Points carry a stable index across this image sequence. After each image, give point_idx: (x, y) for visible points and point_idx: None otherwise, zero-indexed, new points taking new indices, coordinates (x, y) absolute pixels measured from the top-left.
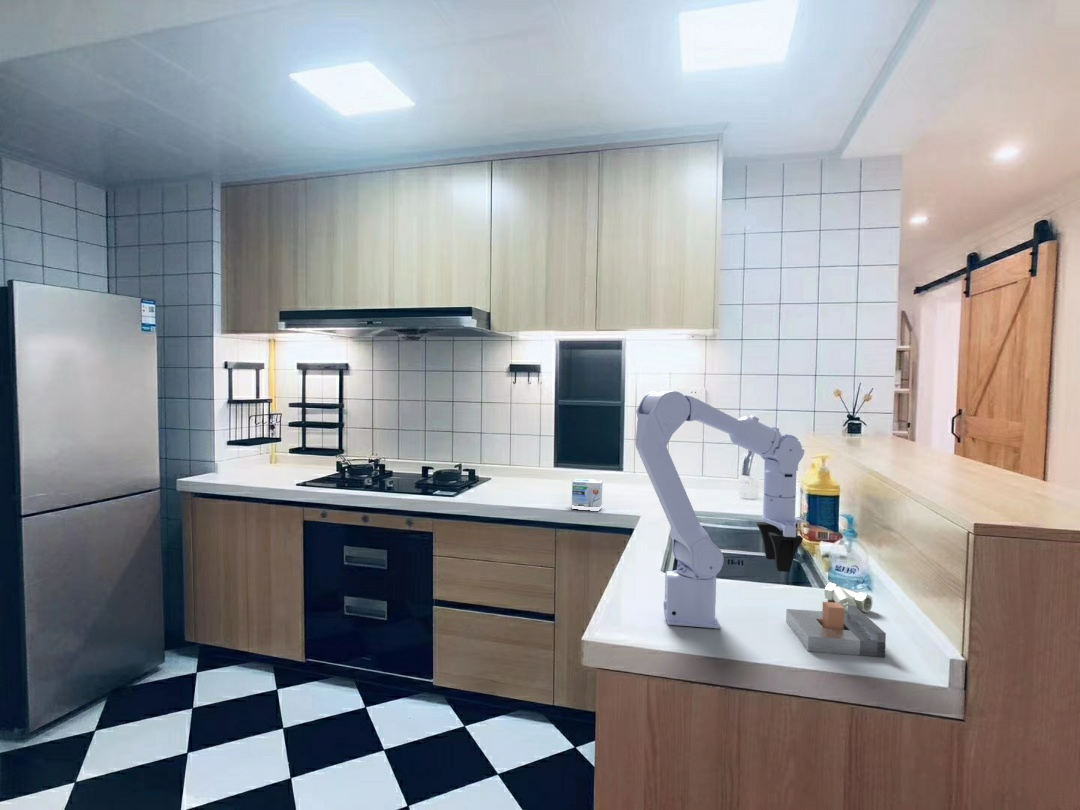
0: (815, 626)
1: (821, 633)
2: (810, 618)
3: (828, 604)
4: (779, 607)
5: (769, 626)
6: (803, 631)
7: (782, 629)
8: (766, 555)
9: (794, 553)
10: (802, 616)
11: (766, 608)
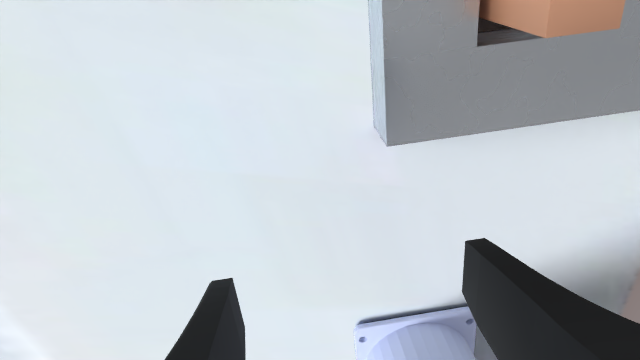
0: (555, 65)
1: (620, 57)
2: (477, 68)
3: (584, 17)
4: (220, 131)
5: (425, 183)
6: (587, 115)
7: (442, 146)
8: (243, 349)
9: (596, 308)
10: (459, 97)
11: (253, 178)
